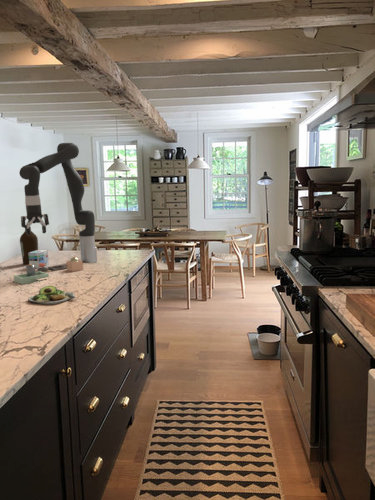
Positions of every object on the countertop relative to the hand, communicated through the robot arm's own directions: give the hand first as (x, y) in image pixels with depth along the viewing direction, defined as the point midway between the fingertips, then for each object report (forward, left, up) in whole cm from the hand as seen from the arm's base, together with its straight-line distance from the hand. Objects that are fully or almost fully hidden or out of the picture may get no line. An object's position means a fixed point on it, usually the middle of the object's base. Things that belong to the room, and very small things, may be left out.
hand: (36, 234), depth 209 cm
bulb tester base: (-8, -3, -23) cm, 24 cm away
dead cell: (-17, +8, -22) cm, 29 cm away
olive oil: (-12, -40, -23) cm, 48 cm away
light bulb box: (-8, -18, -23) cm, 31 cm away
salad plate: (+17, +49, -24) cm, 57 cm away
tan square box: (-17, +8, -23) cm, 30 cm away
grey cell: (+8, +8, -22) cm, 25 cm away
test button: (-3, -3, -19) cm, 19 cm away
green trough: (+8, +8, -23) cm, 26 cm away
